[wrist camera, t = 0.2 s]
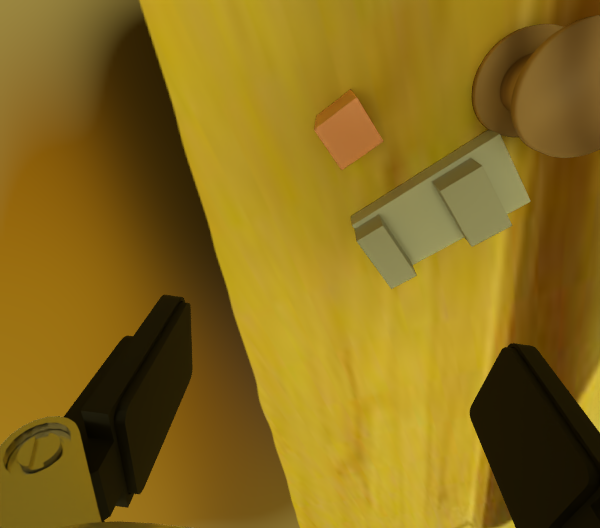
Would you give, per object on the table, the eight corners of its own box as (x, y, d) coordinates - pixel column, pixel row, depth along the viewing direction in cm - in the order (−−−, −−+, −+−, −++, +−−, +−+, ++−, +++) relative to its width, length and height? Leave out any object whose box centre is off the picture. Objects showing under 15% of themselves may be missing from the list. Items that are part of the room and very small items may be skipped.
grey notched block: (489, 129, 35) (514, 140, 30) (519, 193, 38) (546, 212, 33) (350, 216, 40) (354, 237, 36) (386, 266, 43) (393, 292, 39)
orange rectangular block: (350, 89, 34) (356, 97, 27) (372, 125, 35) (383, 141, 29) (316, 115, 35) (314, 129, 28) (338, 149, 37) (341, 170, 30)
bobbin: (558, -1, 30) (646, -24, 21) (590, 95, 33) (676, 107, 25) (455, 72, 33) (498, 76, 25) (494, 153, 36) (542, 180, 28)
